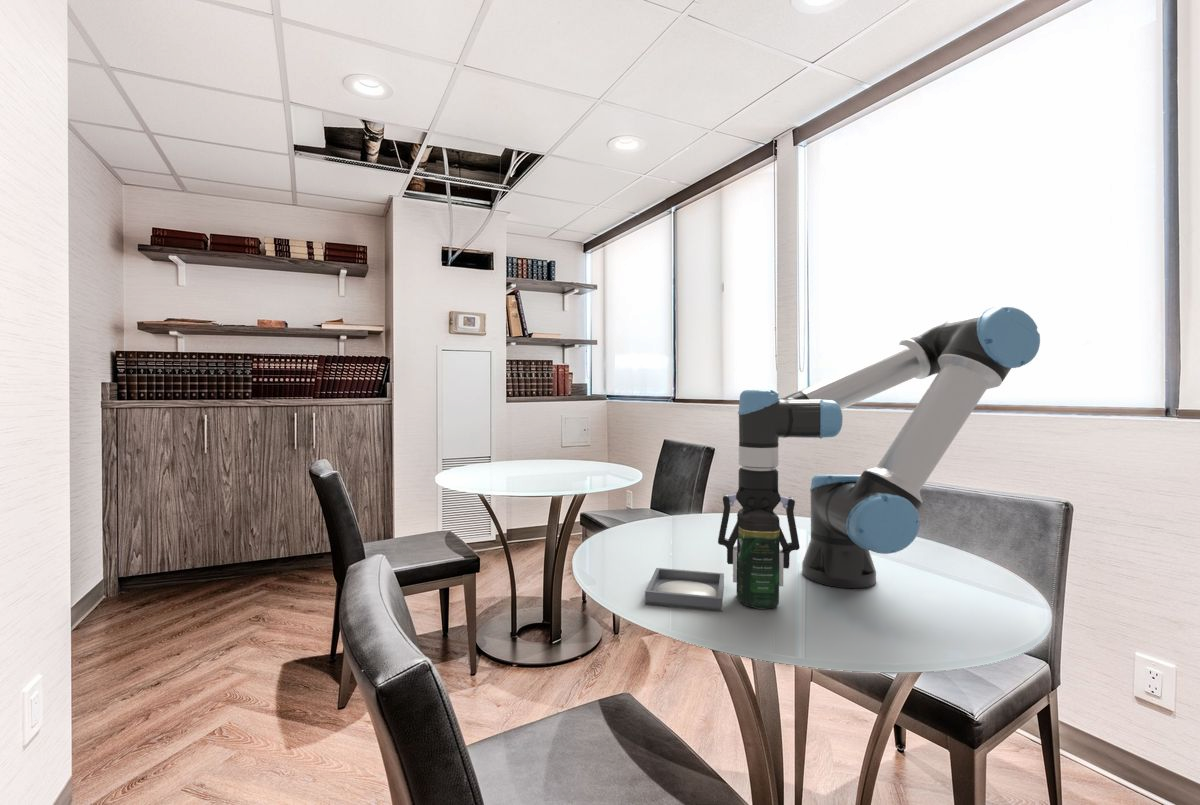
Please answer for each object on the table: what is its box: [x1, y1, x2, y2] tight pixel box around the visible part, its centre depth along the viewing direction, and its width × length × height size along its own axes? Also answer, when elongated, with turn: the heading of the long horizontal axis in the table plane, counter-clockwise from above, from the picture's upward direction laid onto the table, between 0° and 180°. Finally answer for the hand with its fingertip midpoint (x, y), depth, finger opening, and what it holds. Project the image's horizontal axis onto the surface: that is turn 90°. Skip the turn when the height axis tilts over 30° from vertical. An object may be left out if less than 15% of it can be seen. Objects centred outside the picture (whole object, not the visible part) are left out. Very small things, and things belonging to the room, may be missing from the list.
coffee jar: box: [736, 507, 781, 610], centre depth 106 cm, size 10×8×19 cm
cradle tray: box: [644, 567, 725, 613], centre depth 109 cm, size 15×15×2 cm
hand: (757, 581), depth 106 cm, fingers closed on coffee jar, 8 cm apart
